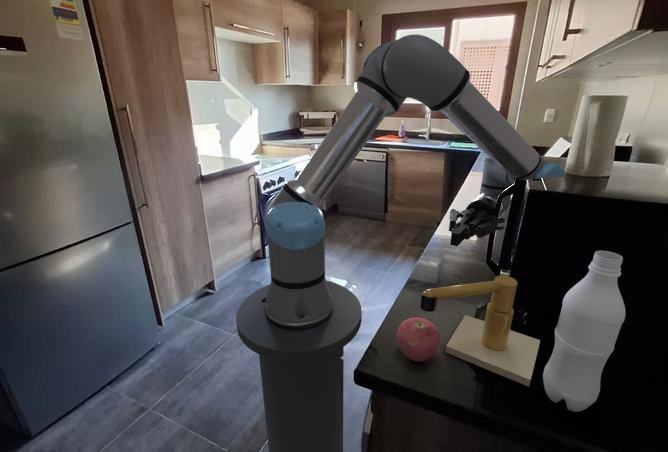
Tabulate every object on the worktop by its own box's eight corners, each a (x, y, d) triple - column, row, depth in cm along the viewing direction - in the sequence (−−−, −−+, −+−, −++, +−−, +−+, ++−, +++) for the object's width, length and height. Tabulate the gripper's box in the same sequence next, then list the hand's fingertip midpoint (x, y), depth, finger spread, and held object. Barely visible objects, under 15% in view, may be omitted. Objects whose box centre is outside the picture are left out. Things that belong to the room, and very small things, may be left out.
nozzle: (502, 300, 63) (507, 273, 61) (516, 311, 60) (522, 283, 58) (415, 312, 60) (417, 285, 58) (424, 325, 56) (427, 296, 54)
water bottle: (537, 374, 59) (572, 241, 50) (588, 388, 56) (634, 249, 47) (541, 406, 53) (581, 261, 44) (597, 424, 50) (653, 272, 41)
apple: (446, 361, 62) (451, 324, 59) (414, 376, 58) (418, 338, 56) (418, 337, 68) (421, 303, 65) (388, 350, 65) (390, 314, 62)
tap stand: (445, 352, 64) (450, 310, 61) (464, 320, 73) (470, 283, 70) (529, 387, 56) (540, 341, 53) (538, 346, 65) (549, 305, 62)
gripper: (508, 229, 86) (484, 264, 68) (456, 219, 93) (422, 248, 75) (514, 201, 83) (490, 229, 65) (460, 193, 90) (425, 216, 72)
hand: (454, 239), depth 70 cm, fingers closed
